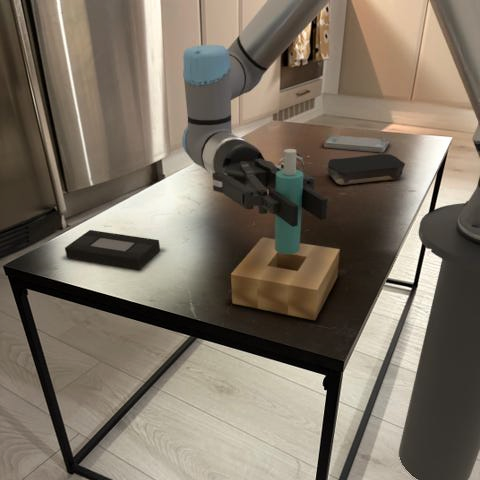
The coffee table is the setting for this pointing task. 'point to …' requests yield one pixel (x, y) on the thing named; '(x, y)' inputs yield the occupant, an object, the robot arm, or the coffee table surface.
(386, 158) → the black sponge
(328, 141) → the phone
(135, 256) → the vhs tape
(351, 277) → the coffee table surface
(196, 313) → the coffee table surface
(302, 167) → the wristwatch
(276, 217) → the teal lotion tube
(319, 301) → the holder
